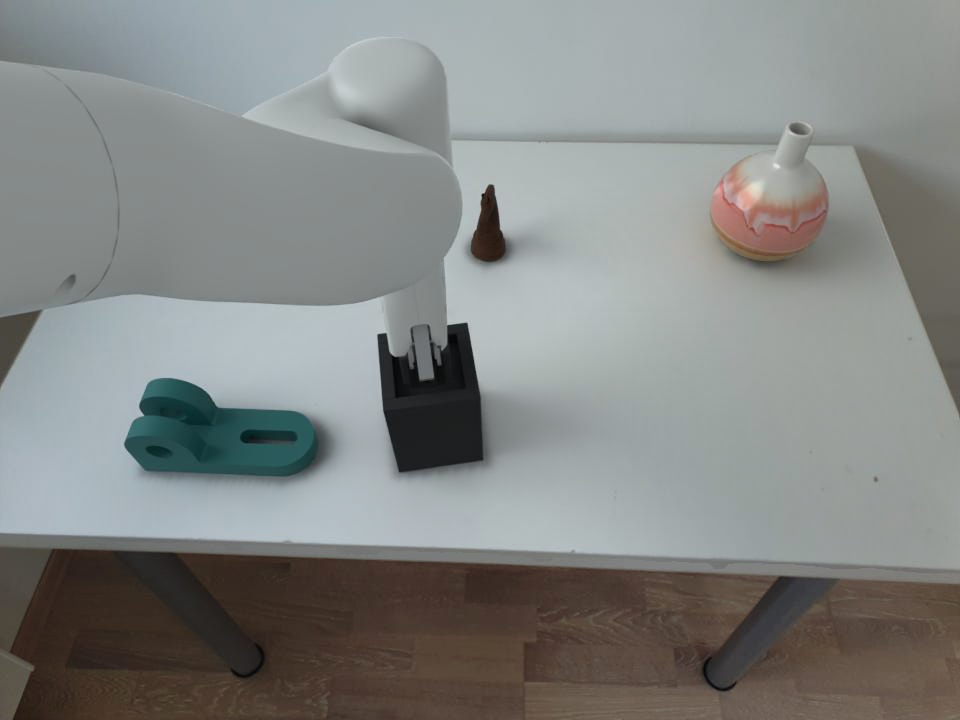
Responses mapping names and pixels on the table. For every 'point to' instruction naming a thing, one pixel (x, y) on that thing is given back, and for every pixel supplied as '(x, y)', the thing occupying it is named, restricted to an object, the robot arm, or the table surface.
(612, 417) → the table surface
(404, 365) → the dark grey cube
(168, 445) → the bracket
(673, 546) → the table surface
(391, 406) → the black rectangular box
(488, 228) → the chess piece
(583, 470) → the table surface
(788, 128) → the vase
